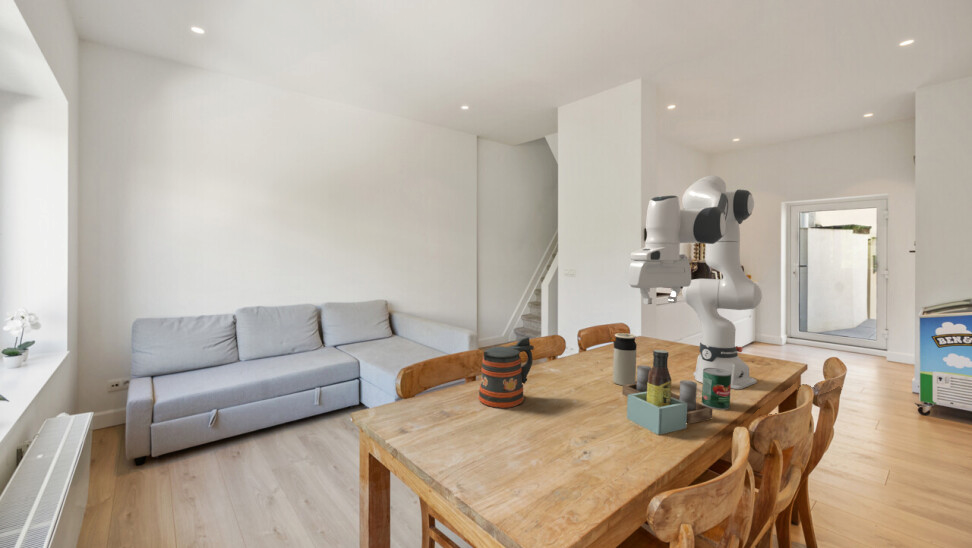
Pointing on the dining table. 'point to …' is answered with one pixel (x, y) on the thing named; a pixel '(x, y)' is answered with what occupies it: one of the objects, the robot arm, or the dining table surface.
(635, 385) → the rack
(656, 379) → the sauce bottle
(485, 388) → the beer stein
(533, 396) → the dining table surface
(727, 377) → the canned tomato
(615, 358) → the travel mug
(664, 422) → the box
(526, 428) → the dining table surface
